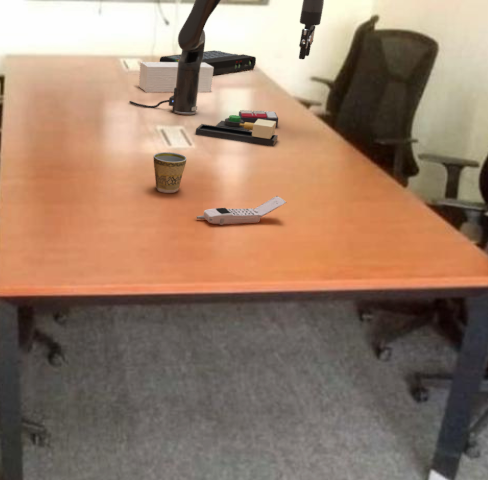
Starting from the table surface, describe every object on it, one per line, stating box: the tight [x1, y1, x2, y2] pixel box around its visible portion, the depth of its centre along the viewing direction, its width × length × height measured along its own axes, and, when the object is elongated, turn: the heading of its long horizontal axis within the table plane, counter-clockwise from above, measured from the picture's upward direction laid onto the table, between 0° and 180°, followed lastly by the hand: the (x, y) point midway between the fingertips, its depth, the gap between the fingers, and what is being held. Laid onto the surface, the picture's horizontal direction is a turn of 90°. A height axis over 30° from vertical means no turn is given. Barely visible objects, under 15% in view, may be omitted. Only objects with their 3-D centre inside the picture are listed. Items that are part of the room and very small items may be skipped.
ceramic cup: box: [153, 151, 187, 194], centre depth 234 cm, size 13×10×10 cm
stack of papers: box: [138, 61, 214, 93], centre depth 352 cm, size 32×11×11 cm, turn 107°
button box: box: [215, 117, 250, 131], centre depth 301 cm, size 12×9×3 cm
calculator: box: [238, 109, 279, 129], centre depth 310 cm, size 11×4×15 cm
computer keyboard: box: [159, 50, 257, 76], centre depth 400 cm, size 45×28×7 cm, turn 134°
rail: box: [194, 123, 279, 147], centre depth 290 cm, size 30×8×2 cm, turn 71°
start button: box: [228, 114, 240, 122], centre depth 300 cm, size 4×4×2 cm
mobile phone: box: [196, 195, 287, 226], centre depth 215 cm, size 6×6×25 cm
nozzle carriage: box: [240, 119, 276, 139], centre depth 287 cm, size 13×9×6 cm
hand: (303, 57), depth 289 cm, fingers open, 8 cm apart
